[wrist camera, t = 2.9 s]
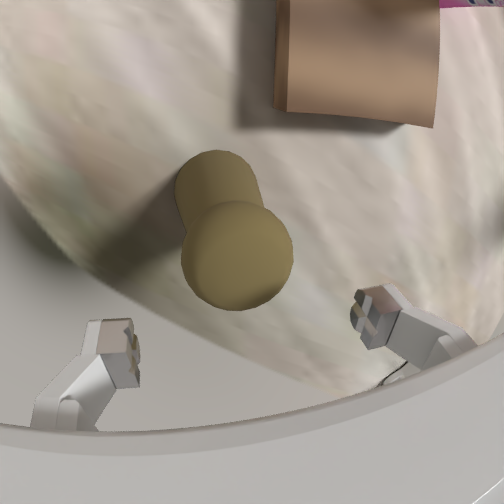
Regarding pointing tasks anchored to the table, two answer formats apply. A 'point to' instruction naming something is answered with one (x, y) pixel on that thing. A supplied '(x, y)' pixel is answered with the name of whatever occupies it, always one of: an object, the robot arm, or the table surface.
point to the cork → (229, 234)
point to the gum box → (469, 3)
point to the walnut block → (358, 58)
